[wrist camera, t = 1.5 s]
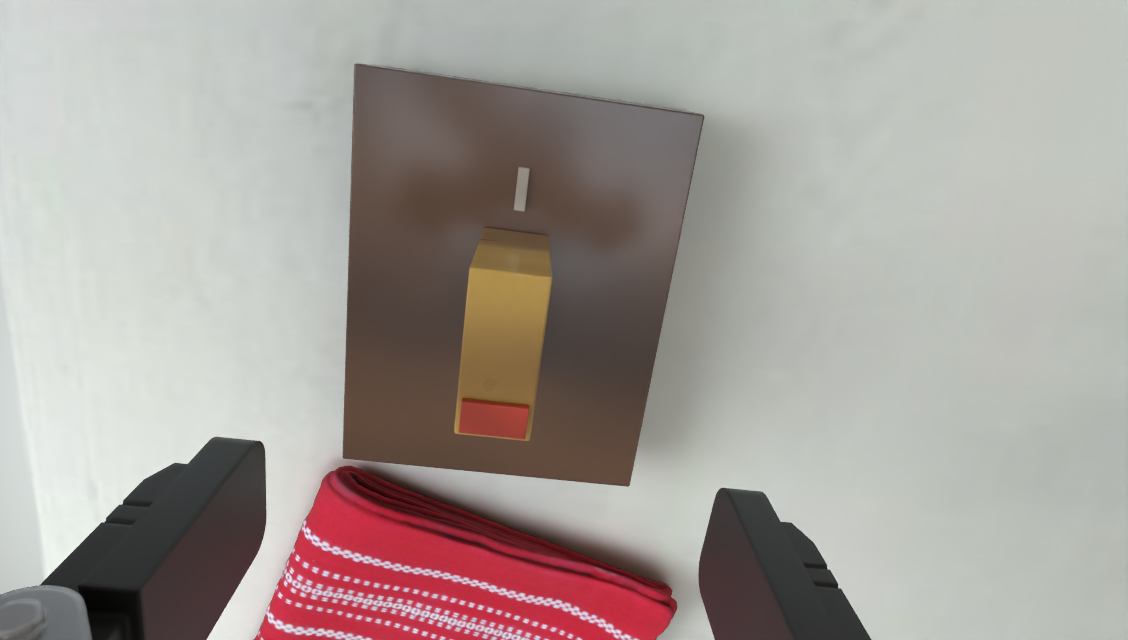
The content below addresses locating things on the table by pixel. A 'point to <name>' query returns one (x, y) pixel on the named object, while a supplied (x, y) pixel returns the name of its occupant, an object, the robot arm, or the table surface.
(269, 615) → the dish towel
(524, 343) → the yellow milk carton
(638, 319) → the lock plate
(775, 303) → the table surface
